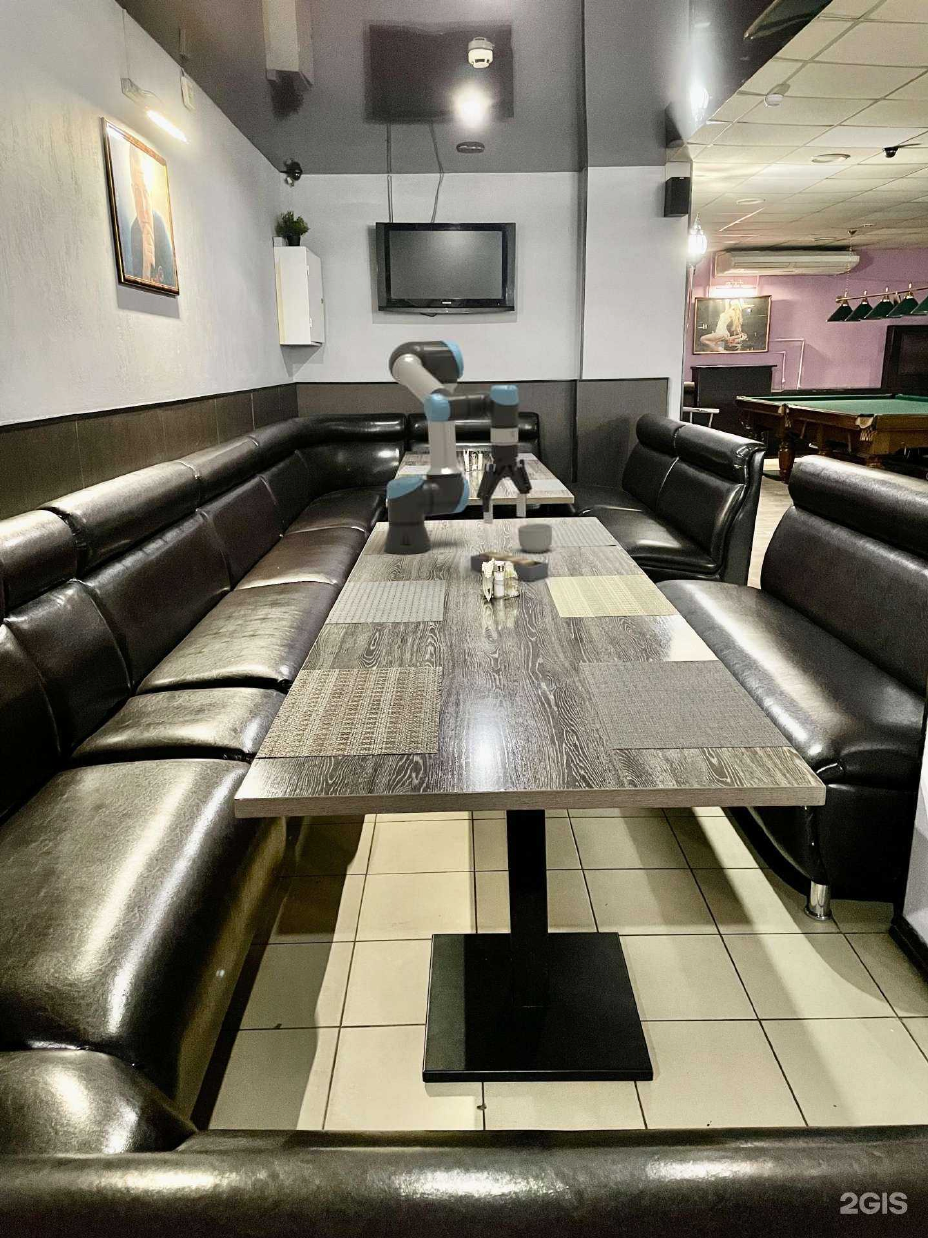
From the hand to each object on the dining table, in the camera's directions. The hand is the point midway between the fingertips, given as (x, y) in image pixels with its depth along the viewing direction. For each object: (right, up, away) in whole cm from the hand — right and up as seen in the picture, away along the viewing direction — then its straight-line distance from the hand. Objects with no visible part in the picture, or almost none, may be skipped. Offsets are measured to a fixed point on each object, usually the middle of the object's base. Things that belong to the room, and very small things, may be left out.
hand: (505, 519), depth 246 cm
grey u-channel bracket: (-5, -13, +9) cm, 17 cm away
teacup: (+11, -6, +34) cm, 36 cm away
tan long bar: (+1, -15, +4) cm, 16 cm away
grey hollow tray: (+7, -16, -2) cm, 18 cm away
